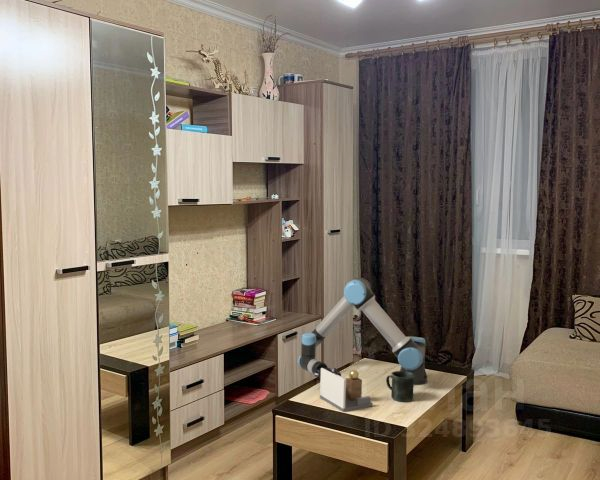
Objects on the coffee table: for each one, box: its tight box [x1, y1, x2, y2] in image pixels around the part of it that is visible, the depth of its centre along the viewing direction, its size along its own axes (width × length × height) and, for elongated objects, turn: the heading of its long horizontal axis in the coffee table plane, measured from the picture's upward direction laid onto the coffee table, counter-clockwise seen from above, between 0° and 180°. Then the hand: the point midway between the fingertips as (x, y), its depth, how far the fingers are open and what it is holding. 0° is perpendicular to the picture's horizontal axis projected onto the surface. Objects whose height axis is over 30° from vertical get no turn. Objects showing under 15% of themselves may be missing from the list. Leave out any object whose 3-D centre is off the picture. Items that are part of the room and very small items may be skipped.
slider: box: [344, 369, 363, 400], centre depth 287 cm, size 5×6×13 cm
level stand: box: [319, 368, 373, 413], centre depth 287 cm, size 20×16×14 cm
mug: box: [385, 370, 415, 403], centre depth 294 cm, size 11×15×12 cm
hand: (343, 381), depth 295 cm, fingers closed
